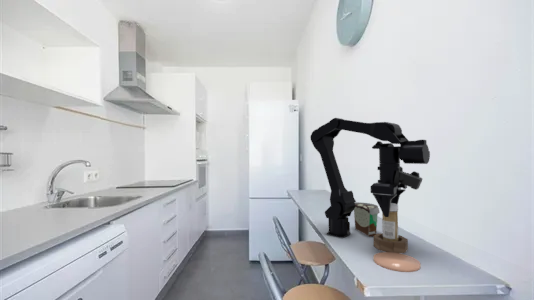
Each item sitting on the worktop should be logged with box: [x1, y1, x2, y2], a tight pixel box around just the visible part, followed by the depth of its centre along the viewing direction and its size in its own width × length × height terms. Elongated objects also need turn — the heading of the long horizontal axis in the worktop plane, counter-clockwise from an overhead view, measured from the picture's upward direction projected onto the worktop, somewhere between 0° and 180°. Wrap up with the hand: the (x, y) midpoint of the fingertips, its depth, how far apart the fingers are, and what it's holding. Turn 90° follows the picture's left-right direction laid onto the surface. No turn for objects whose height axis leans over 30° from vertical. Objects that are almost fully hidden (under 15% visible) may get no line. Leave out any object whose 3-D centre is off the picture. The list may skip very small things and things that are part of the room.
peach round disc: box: [373, 251, 421, 273], centre depth 67 cm, size 11×11×1 cm
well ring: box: [372, 232, 409, 254], centre depth 78 cm, size 9×9×3 cm
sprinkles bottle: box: [381, 203, 399, 242], centre depth 78 cm, size 5×5×13 cm
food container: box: [353, 201, 380, 238], centre depth 94 cm, size 12×6×10 cm, turn 9°
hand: (390, 214), depth 78 cm, fingers open, 8 cm apart
